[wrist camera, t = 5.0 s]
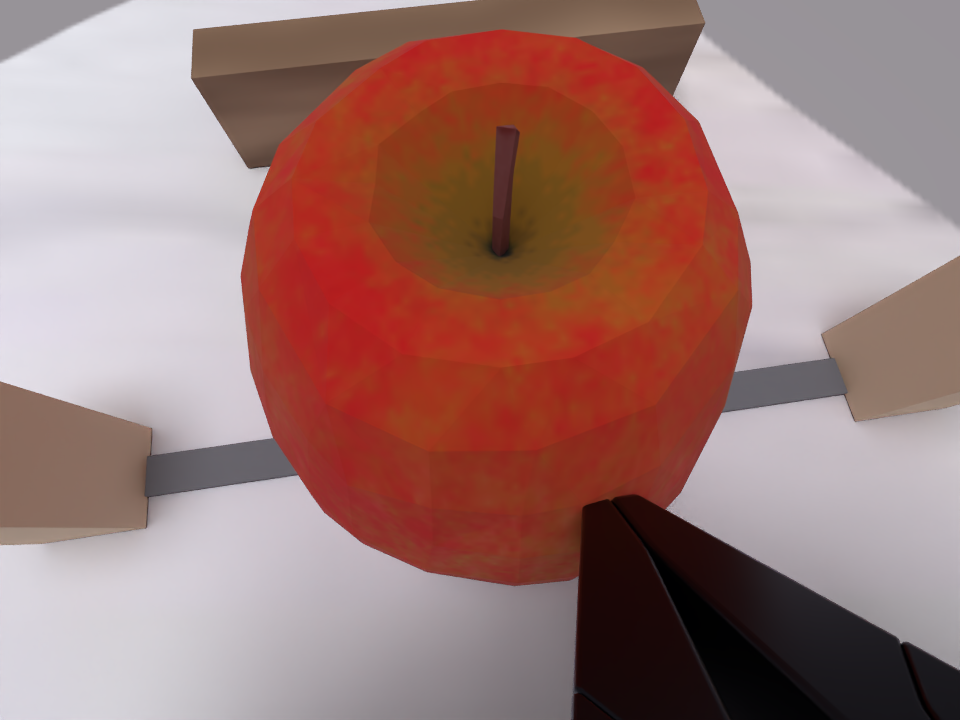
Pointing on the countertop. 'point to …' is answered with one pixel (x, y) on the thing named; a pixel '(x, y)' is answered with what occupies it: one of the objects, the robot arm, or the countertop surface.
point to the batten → (368, 35)
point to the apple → (493, 299)
